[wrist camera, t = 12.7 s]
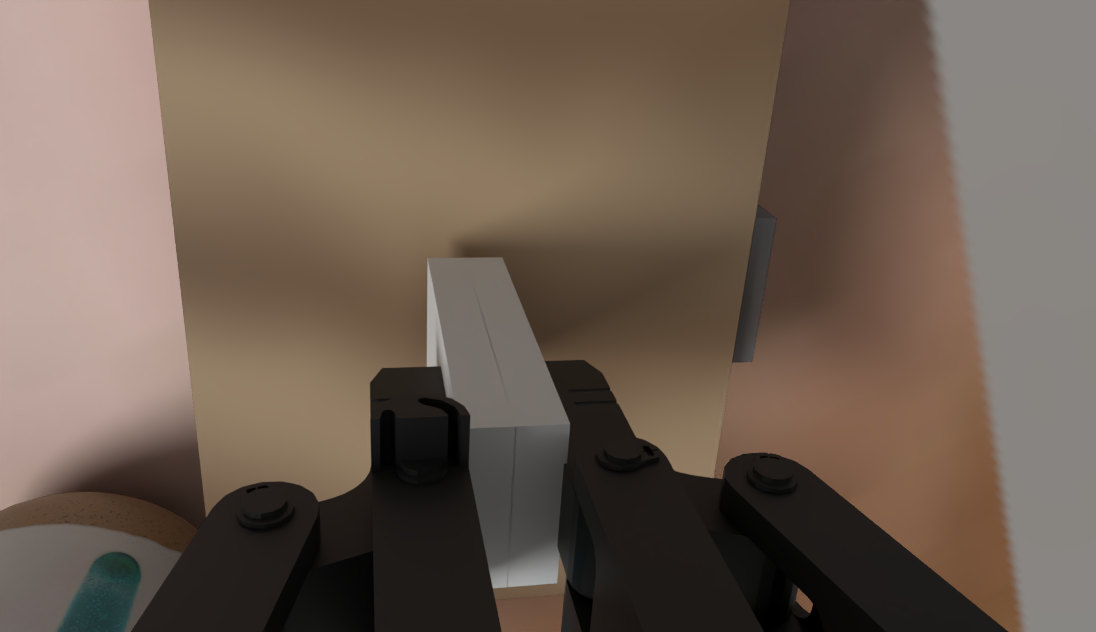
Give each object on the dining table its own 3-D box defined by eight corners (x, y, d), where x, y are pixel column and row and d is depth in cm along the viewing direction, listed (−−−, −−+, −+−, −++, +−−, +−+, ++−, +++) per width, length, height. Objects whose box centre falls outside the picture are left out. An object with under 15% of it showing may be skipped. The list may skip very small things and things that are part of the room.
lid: (163, -126, 17) (133, -132, 15) (788, -80, 19) (842, -80, 17) (231, 556, 23) (217, 622, 21) (694, 524, 25) (725, 580, 23)
